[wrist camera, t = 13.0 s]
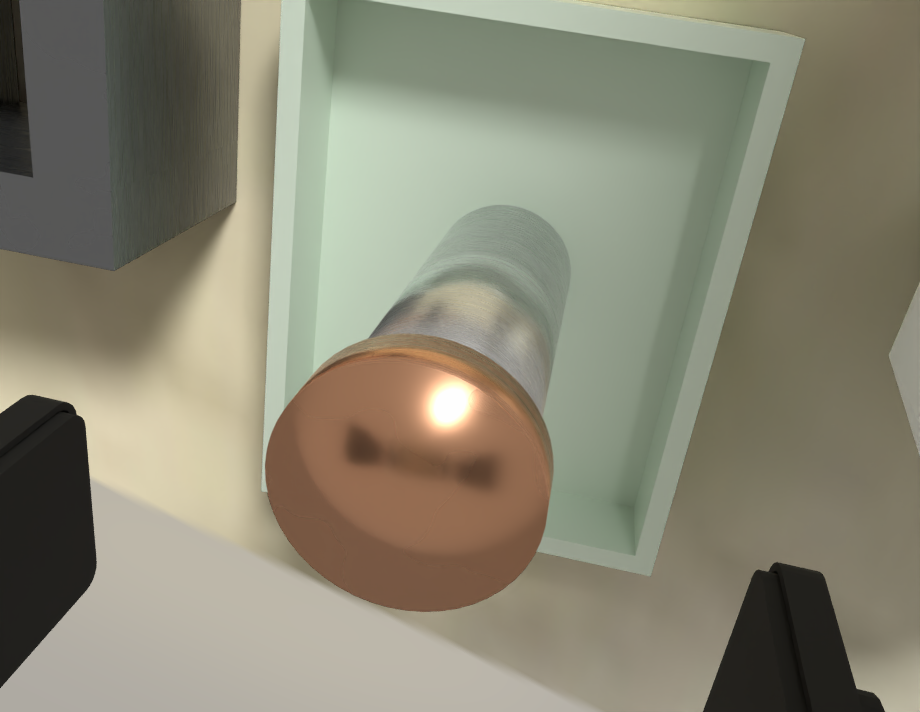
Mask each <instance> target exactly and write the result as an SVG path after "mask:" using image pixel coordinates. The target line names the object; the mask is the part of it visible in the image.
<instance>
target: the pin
mask: <svg viewBox="0 0 920 712" xmlns="http://www.w3.org/2000/svg"><path fill="white" fill-rule="evenodd" d="M570 278H571V266H570V259H569V255H568V252H567V249H566V247H565V245H564V242H563V241H562V239H561V237H560V236H559V234H558V233H557V232H556V231H555V229H554V228H553V227H552V226H551V225H550V224H549V223H548V222H547V221H545V220H544V219H543V218H541V217H540V216H538V215H537V214H535V213H533V212H531V211H529V210H526V209H523V208H520V207H516V206H510V205H492V206H486V207H482V208H479V209H476V210H474V211H472V212H470V213H468V214H466V215H465V216H463V217H462V218H460V219H459V220H458V221H457V222H456V223H455V224H454V225H453V226H452V227H451V228H450V229H449V231H448V232H447V233H446V235H445V236H444V237H443V239H442V240H441V241H440V243H439V244H438V245H437V247H436V248H435V249H434V251H433V252H432V253H431V255H430V256H429V257H428V259H427V260H426V261H425V263H424V264H423V265H422V267H421V268H420V269H419V271H418V272H417V273H416V275H415V276H414V277H413V279H412V280H411V281H410V283H409V284H408V285H407V287H406V288H405V289H404V291H403V292H402V293H401V295H400V296H399V298H398V299H397V300H396V302H395V303H394V304H393V306H392V307H391V308H390V310H389V311H388V312H387V314H386V315H385V316H384V318H383V319H382V320H381V322H380V323H379V324H378V326H377V327H376V328H375V330H374V331H373V332H372V334H371V335H370V336H369V338H368V339H365V340H362V341H360V342H357V343H355V344H353V345H350V346H348V347H346V348H344V349H343V350H341V351H339V352H338V353H336V354H334V355H333V356H332V357H330V358H329V359H328V360H327V361H325V362H324V363H323V364H322V365H321V366H320V367H319V368H318V369H317V370H316V371H315V372H314V374H313V375H312V376H311V377H310V378H309V379H308V381H307V382H306V383H305V384H304V385H303V387H302V388H301V389H300V390H299V392H298V393H297V394H296V395H295V396H294V398H293V399H292V400H291V401H290V403H289V404H288V405H287V406H286V408H285V409H284V411H283V412H282V414H281V415H280V417H279V418H278V420H277V422H276V424H275V426H274V428H273V431H272V433H271V436H270V439H269V443H268V447H267V452H266V460H265V481H266V486H267V492H268V497H269V500H270V504H271V507H272V510H273V513H274V515H275V517H276V519H277V521H278V523H279V526H280V528H281V529H282V531H283V532H284V534H285V536H286V537H287V539H288V541H289V542H290V543H291V544H292V546H293V547H294V548H295V550H296V551H297V552H298V553H299V555H300V556H301V557H302V558H303V559H304V560H305V561H306V562H307V563H308V564H309V565H310V566H311V567H312V568H314V569H315V570H316V571H317V572H318V573H320V574H321V575H322V576H323V577H324V578H326V579H327V580H329V581H330V582H332V583H333V584H335V585H336V586H338V587H339V588H341V589H343V590H345V591H347V592H349V593H351V594H353V595H355V596H357V597H359V598H362V599H364V600H367V601H369V602H372V603H375V604H379V605H382V606H386V607H389V608H395V609H400V610H406V611H419V612H431V611H445V610H451V609H458V608H461V607H465V606H469V605H472V604H475V603H477V602H480V601H482V600H484V599H487V598H489V597H491V596H492V595H494V594H496V593H498V592H499V591H501V590H502V589H504V588H505V587H506V586H508V585H509V584H510V583H511V582H513V581H514V580H515V579H516V578H517V577H518V576H519V575H520V574H521V573H522V572H523V571H524V569H525V568H526V567H527V565H528V564H529V562H530V561H531V560H532V558H533V557H534V555H535V553H536V551H537V549H538V547H539V545H540V543H541V540H542V536H543V533H544V530H545V526H546V520H547V514H548V507H549V501H550V495H551V488H552V481H553V474H554V461H553V451H552V445H551V439H550V436H549V433H548V430H547V427H546V424H545V422H544V420H543V418H542V417H543V413H544V408H545V403H546V398H547V393H548V388H549V383H550V378H551V373H552V369H553V364H554V359H555V354H556V349H557V344H558V339H559V334H560V330H561V325H562V320H563V315H564V310H565V305H566V300H567V295H568V290H569V286H570Z"/></svg>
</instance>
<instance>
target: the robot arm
mask: <svg viewBox="0 0 920 712" xmlns="http://www.w3.org/2000/svg"><path fill="white" fill-rule="evenodd" d="M90 489H91V488H90V476H89V464H88V452H87V440H86V427H85V422H84V420H83V418H82V417H80V416H78V415H77V414H76V410H75V409H74V407H73V405H71V404H69V403H67V402H62V401H58V400H54V399H49V398H45V397H40V396H36V395H27V396H25V397H23V398H21V399H20V400H19V401H17V402H16V403H14V404H13V405H12V406H10V407H9V408H7V409H6V410H5V411H3V412H2V413H0V688H1V687H2V686H3V684H4V683H5V682H6V681H7V680H8V679H9V678H10V676H11V675H12V674H13V673H14V672H15V671H16V670H17V669H18V667H19V666H20V665H21V664H22V663H23V662H24V661H25V659H26V658H27V657H28V656H29V655H30V654H31V652H32V651H33V650H34V649H35V648H36V647H37V646H38V645H39V644H40V642H41V641H42V640H43V639H44V638H45V637H46V636H47V634H48V633H49V632H50V631H51V630H52V629H53V628H54V627H55V625H56V624H57V623H58V622H59V621H60V620H61V619H62V617H63V616H64V615H65V614H66V613H67V612H68V611H69V609H70V608H71V607H72V606H73V605H74V604H75V603H76V602H77V600H78V599H79V598H80V597H81V596H82V595H83V594H84V592H85V591H86V590H87V589H88V587H89V586H90V584H91V582H92V580H93V578H94V575H95V571H96V562H97V561H96V549H95V537H94V526H93V513H92V501H91V490H90ZM703 712H885V711H884V708H883V706H882V704H881V702H880V699H879V698H878V697H877V696H876V695H875V694H874V693H871V692H867V691H863V690H859V689H856V686H855V683H854V679H853V676H852V672H851V669H850V665H849V661H848V658H847V654H846V651H845V647H844V644H843V640H842V637H841V633H840V630H839V626H838V623H837V619H836V616H835V612H834V609H833V605H832V602H831V598H830V595H829V591H828V588H827V584H826V581H825V578H824V576H823V574H822V573H820V572H818V571H813V570H809V569H805V568H800V567H796V566H791V565H787V564H782V563H778V562H776V563H774V564H773V565H772V566H771V568H770V570H769V572H766V571H762V570H756V572H755V573H754V575H753V577H752V579H751V582H750V585H749V587H748V590H747V593H746V596H745V598H744V601H743V604H742V606H741V609H740V612H739V615H738V617H737V620H736V623H735V626H734V628H733V631H732V634H731V637H730V639H729V642H728V645H727V648H726V650H725V653H724V656H723V659H722V661H721V664H720V667H719V669H718V672H717V675H716V678H715V680H714V683H713V686H712V689H711V691H710V694H709V697H708V700H707V702H706V705H705V708H704V711H703Z"/></svg>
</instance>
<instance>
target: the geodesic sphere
mask: <svg viewBox="0 0 920 712" xmlns="http://www.w3.org/2000/svg"><path fill="white" fill-rule="evenodd" d="M889 359H890V362H891V365H892V369H893V372H894V375H895V378H896V382H897V385H898V388H899V391H900V394H901V398H902V401H903V404H904V407H905V411H906V414H907V417H908V420H909V424H910V427H911V430H912V433H913V437H914V440H915V443H916V446H917V450H918V453H919V456H920V282H919V285H918V287H917V289H916V292H915V294H914V296H913V299H912V301H911V304H910V306H909V308H908V311H907V313H906V315H905V318H904V320H903V322H902V325H901V327H900V330H899V332H898V334H897V337H896V339H895V341H894V344H893V346H892V349H891V351H890V353H889Z"/></svg>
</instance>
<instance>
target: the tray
mask: <svg viewBox="0 0 920 712" xmlns="http://www.w3.org/2000/svg"><path fill="white" fill-rule="evenodd" d="M804 43H805V39H804V38H801V37H798V36H795V35H791V34H788V33H785V32H782V31H775V30H769V29H762V28H755V27H749V26H742V25H736V24H729V23H722V22H716V21H709V20H702V19H696V18H689V17H683V16H676V15H669V14H663V13H656V12H649V11H643V10H636V9H630V8H623V7H616V6H610V5H603V4H597V3H590V2H583V1H577V0H282V3H281V27H280V51H279V75H278V99H277V123H276V147H275V171H274V195H273V219H272V243H271V267H270V290H269V314H268V338H267V362H266V386H265V410H264V434H263V458H262V482H261V491H263V492H267V486H266V481H265V460H266V452H267V447H268V443H269V439H270V436H271V433H272V431H273V428H274V426H275V424H276V422H277V420H278V418H279V417H280V415H281V414H282V412H283V411H284V409H285V408H286V406H287V405H288V404H289V403H290V401H291V400H292V399H293V398H294V396H295V395H296V394H297V393H298V392H299V390H300V389H301V388H302V387H303V385H304V384H305V383H306V382H307V381H308V379H309V378H310V377H311V376H312V375H313V374H314V372H315V371H316V370H317V369H318V368H319V367H320V366H321V365H322V364H323V363H324V362H325V361H327V360H328V359H329V358H330V357H332V356H333V355H334V354H336V353H338V352H339V351H341V350H343V349H344V348H346V347H348V346H350V345H353V344H355V343H357V342H360V341H362V340H365V339H368V338H369V336H370V335H371V334H372V332H373V331H374V330H375V328H376V327H377V326H378V324H379V323H380V322H381V320H382V319H383V318H384V316H385V315H386V314H387V312H388V311H389V310H390V308H391V307H392V306H393V304H394V303H395V302H396V300H397V299H398V298H399V296H400V295H401V293H402V292H403V291H404V289H405V288H406V287H407V285H408V284H409V283H410V281H411V280H412V279H413V277H414V276H415V275H416V273H417V272H418V271H419V269H420V268H421V267H422V265H423V264H424V263H425V261H426V260H427V259H428V257H429V256H430V255H431V253H432V252H433V251H434V249H435V248H436V247H437V245H438V244H439V243H440V241H441V240H442V239H443V237H444V236H445V235H446V233H447V232H448V231H449V229H450V228H451V227H452V226H453V225H454V224H455V223H456V222H457V221H458V220H459V219H460V218H462V217H463V216H465V215H466V214H468V213H470V212H472V211H474V210H476V209H479V208H482V207H486V206H492V205H510V206H516V207H520V208H523V209H526V210H529V211H531V212H533V213H535V214H537V215H538V216H540V217H541V218H543V219H544V220H545V221H547V222H548V223H549V224H550V225H551V226H552V227H553V228H554V229H555V231H556V232H557V233H558V234H559V236H560V237H561V239H562V241H563V242H564V245H565V247H566V249H567V252H568V255H569V259H570V266H571V278H570V286H569V290H568V295H567V300H566V305H565V310H564V315H563V320H562V325H561V330H560V334H559V339H558V344H557V349H556V354H555V359H554V364H553V369H552V373H551V378H550V383H549V388H548V393H547V398H546V403H545V408H544V413H543V417H542V418H543V420H544V422H545V424H546V427H547V430H548V433H549V436H550V439H551V445H552V451H553V461H554V474H553V481H552V488H551V495H550V501H549V507H548V514H547V520H546V526H545V530H544V533H543V536H542V540H541V543H540V545H539V547H538V549H537V551H536V552H541V553H545V554H550V555H554V556H559V557H564V558H568V559H573V560H577V561H582V562H586V563H591V564H595V565H600V566H605V567H609V568H614V569H618V570H623V571H627V572H632V573H636V574H641V575H646V576H650V577H651V574H652V571H653V567H654V564H655V560H656V557H657V553H658V550H659V546H660V543H661V539H662V536H663V532H664V529H665V525H666V522H667V519H668V515H669V512H670V508H671V505H672V501H673V498H674V494H675V491H676V487H677V484H678V480H679V477H680V473H681V470H682V466H683V463H684V459H685V456H686V453H687V449H688V446H689V442H690V439H691V435H692V432H693V428H694V425H695V421H696V418H697V414H698V411H699V407H700V404H701V400H702V397H703V393H704V390H705V387H706V383H707V380H708V376H709V373H710V369H711V366H712V362H713V359H714V355H715V352H716V348H717V345H718V341H719V338H720V334H721V331H722V327H723V324H724V321H725V317H726V314H727V310H728V307H729V303H730V300H731V296H732V293H733V289H734V286H735V282H736V279H737V275H738V272H739V268H740V265H741V261H742V258H743V255H744V251H745V248H746V244H747V241H748V237H749V234H750V230H751V227H752V223H753V220H754V216H755V213H756V209H757V206H758V202H759V199H760V195H761V192H762V189H763V185H764V182H765V178H766V175H767V171H768V168H769V164H770V161H771V157H772V154H773V150H774V147H775V143H776V140H777V136H778V133H779V129H780V126H781V123H782V119H783V116H784V112H785V109H786V105H787V102H788V98H789V95H790V91H791V88H792V84H793V81H794V77H795V74H796V70H797V67H798V63H799V60H800V57H801V53H802V50H803V46H804ZM267 493H268V492H267Z"/></svg>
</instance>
